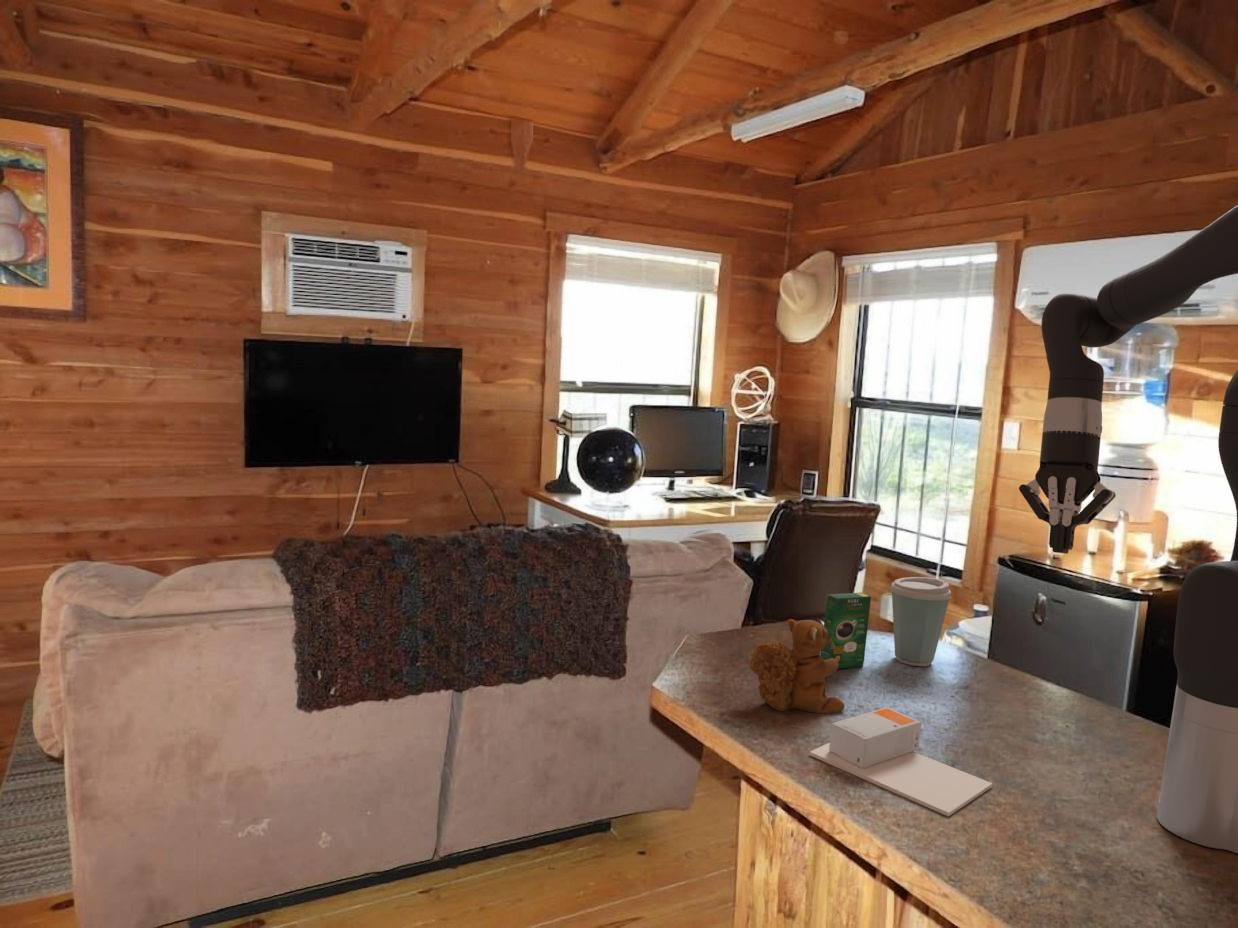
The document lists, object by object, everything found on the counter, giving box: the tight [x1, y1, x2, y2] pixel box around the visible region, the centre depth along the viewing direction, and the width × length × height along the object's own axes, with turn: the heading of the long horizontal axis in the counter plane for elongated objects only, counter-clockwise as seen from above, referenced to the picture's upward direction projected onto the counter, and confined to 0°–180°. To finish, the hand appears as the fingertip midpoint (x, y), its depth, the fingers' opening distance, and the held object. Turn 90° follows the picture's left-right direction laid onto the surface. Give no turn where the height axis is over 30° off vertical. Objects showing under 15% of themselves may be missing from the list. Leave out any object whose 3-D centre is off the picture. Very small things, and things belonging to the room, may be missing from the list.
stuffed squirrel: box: [747, 618, 846, 714], centre depth 139 cm, size 10×14×13 cm
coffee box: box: [820, 592, 872, 670], centre depth 157 cm, size 8×3×13 cm, turn 115°
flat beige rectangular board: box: [809, 742, 993, 817], centre depth 119 cm, size 20×12×1 cm, turn 44°
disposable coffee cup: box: [890, 576, 952, 667], centre depth 163 cm, size 11×11×15 cm
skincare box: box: [829, 706, 922, 768], centre depth 124 cm, size 6×4×12 cm
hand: (1060, 552), depth 128 cm, fingers closed
